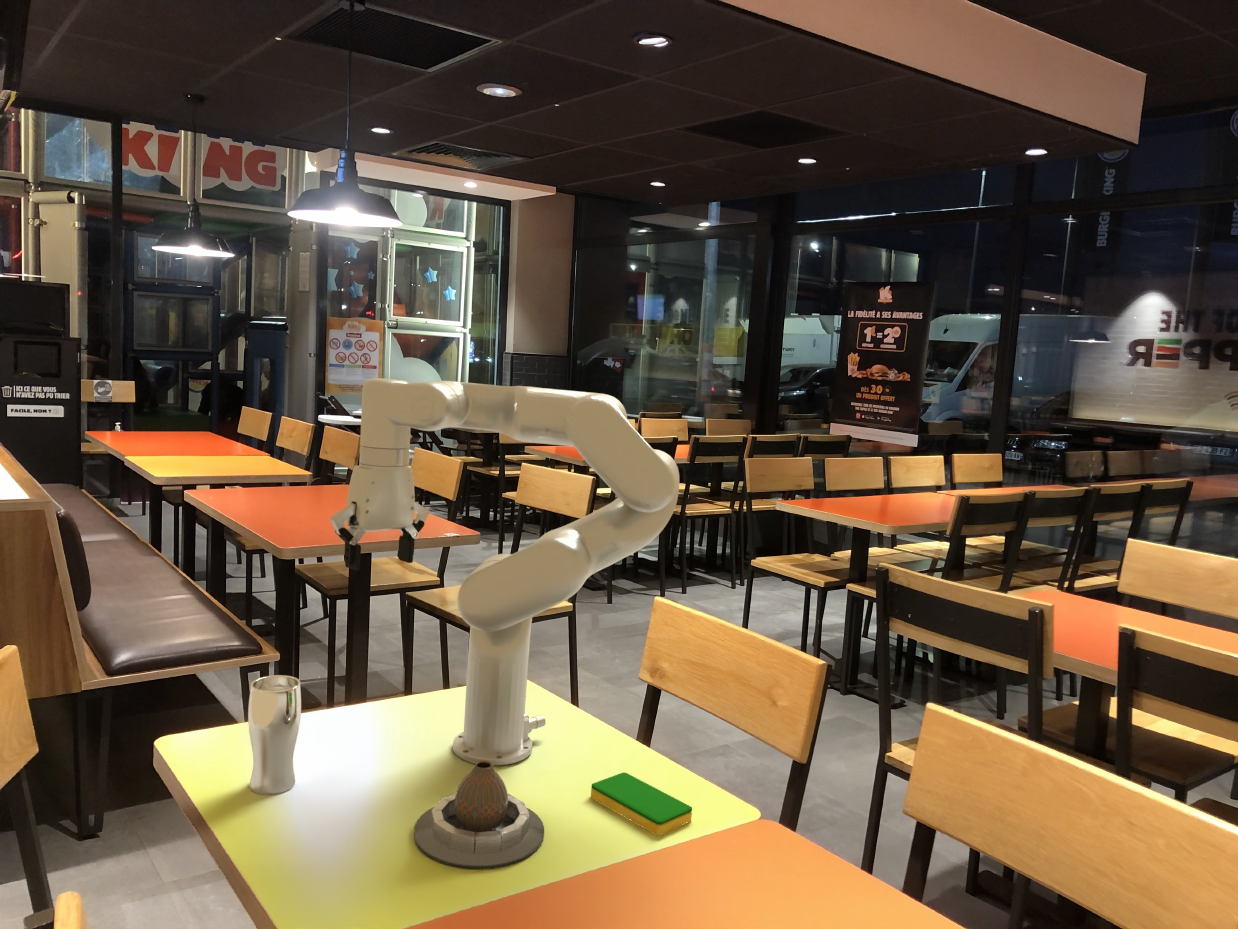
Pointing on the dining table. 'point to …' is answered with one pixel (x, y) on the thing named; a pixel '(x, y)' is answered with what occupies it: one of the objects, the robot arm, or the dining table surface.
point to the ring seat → (478, 837)
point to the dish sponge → (641, 803)
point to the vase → (481, 799)
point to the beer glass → (273, 732)
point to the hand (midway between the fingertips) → (379, 564)
